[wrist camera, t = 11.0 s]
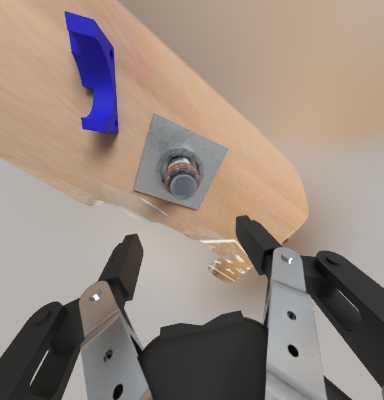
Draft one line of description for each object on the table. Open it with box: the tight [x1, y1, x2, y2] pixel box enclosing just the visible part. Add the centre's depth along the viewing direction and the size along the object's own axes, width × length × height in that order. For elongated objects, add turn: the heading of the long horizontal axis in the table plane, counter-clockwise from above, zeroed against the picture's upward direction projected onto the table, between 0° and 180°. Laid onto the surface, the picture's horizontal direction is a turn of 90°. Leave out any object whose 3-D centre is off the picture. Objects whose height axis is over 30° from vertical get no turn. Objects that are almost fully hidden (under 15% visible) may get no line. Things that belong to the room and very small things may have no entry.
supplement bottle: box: [164, 157, 200, 200], centre depth 25 cm, size 6×6×11 cm
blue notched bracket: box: [65, 11, 119, 133], centre depth 21 cm, size 12×4×6 cm, turn 171°
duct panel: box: [134, 113, 228, 210], centre depth 29 cm, size 16×16×4 cm
